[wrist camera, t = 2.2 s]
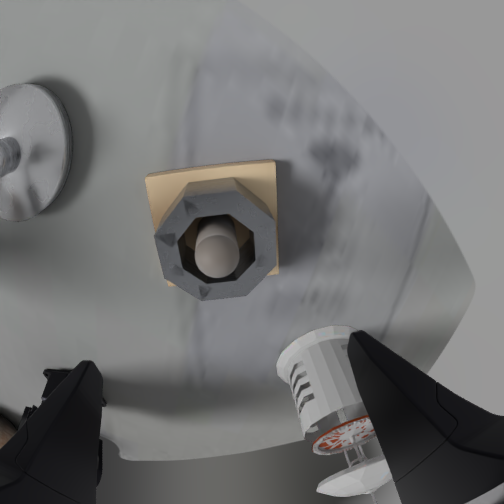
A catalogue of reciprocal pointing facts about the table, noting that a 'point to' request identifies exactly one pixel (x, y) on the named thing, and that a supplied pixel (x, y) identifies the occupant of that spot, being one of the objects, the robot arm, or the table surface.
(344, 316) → the table surface
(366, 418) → the french press
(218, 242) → the stand
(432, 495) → the robot arm
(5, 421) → the cooking pot
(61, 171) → the disc
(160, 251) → the collar
